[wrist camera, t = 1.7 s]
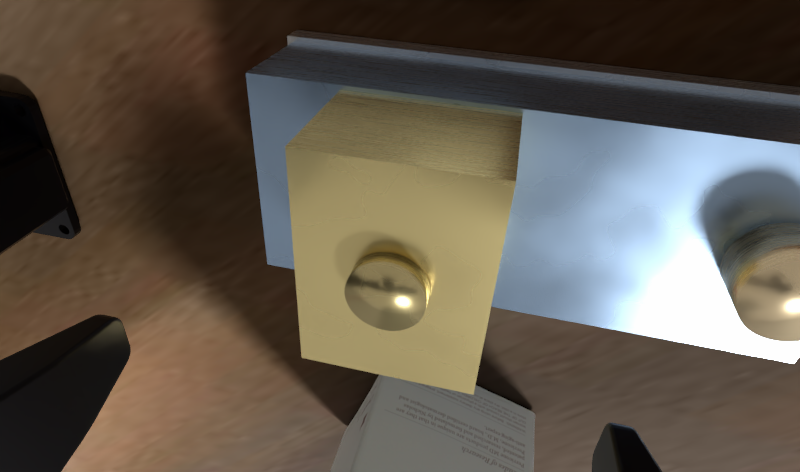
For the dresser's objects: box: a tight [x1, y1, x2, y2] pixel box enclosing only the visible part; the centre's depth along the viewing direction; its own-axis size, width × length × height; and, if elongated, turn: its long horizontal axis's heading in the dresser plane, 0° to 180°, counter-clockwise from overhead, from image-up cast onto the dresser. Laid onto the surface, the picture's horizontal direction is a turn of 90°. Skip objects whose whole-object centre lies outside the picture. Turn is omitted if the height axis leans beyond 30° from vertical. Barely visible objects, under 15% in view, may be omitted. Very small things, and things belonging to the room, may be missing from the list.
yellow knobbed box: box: [285, 89, 523, 395], centre depth 13 cm, size 4×6×4 cm
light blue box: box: [246, 30, 800, 364], centre depth 15 cm, size 16×6×6 cm, turn 88°
